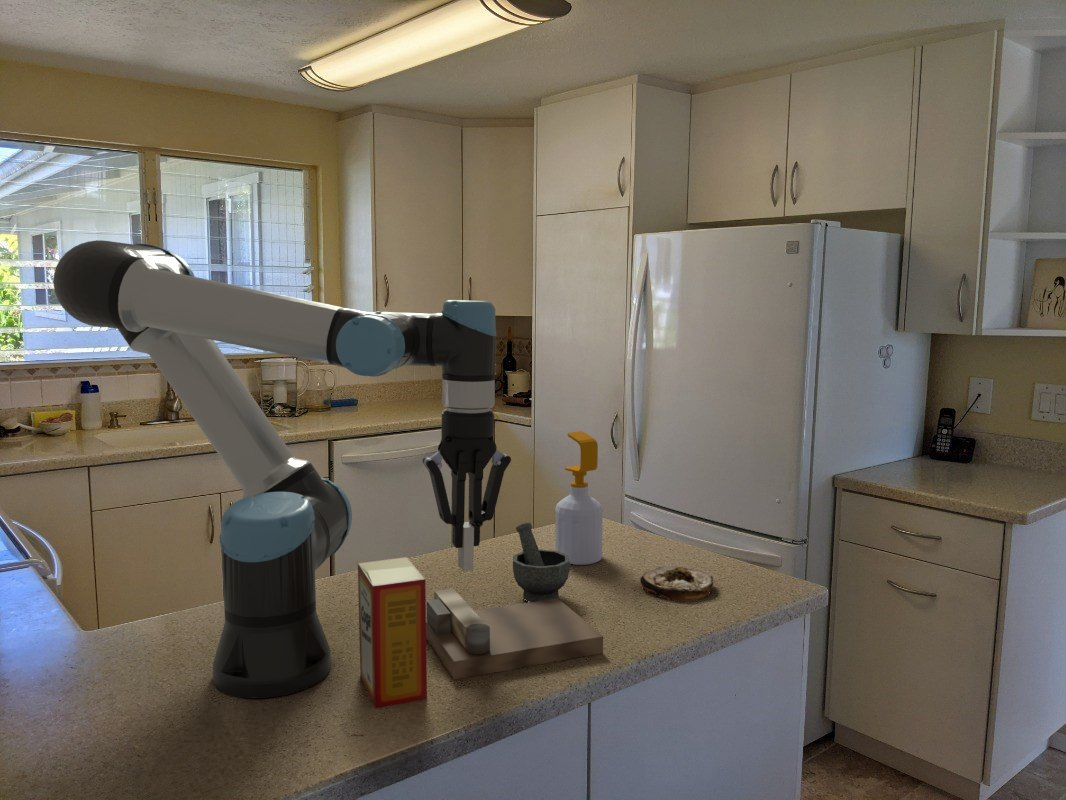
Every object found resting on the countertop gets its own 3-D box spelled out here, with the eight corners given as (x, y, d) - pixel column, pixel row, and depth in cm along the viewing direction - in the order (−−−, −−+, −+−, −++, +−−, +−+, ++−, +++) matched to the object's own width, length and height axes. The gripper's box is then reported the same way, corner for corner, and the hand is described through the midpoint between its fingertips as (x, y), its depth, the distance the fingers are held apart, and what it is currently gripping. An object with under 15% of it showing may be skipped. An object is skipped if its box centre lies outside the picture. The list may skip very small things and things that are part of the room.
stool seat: (454, 679, 110) (453, 639, 109) (423, 633, 125) (422, 598, 124) (603, 653, 118) (603, 616, 117) (557, 613, 133) (557, 580, 132)
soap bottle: (579, 548, 167) (580, 427, 164) (611, 559, 160) (613, 433, 157) (545, 557, 161) (546, 432, 158) (577, 569, 154) (578, 438, 151)
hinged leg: (493, 652, 112) (493, 630, 112) (470, 656, 111) (470, 634, 110) (453, 606, 128) (453, 588, 128) (433, 609, 127) (433, 591, 126)
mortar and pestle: (581, 600, 138) (581, 530, 137) (535, 613, 133) (536, 540, 131) (540, 581, 147) (541, 515, 146) (496, 592, 142) (496, 524, 140)
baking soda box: (360, 676, 111) (357, 560, 109) (408, 667, 113) (406, 554, 111) (375, 708, 102) (372, 583, 100) (427, 698, 105) (425, 576, 103)
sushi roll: (615, 586, 146) (616, 563, 146) (675, 570, 155) (676, 549, 154) (677, 612, 134) (677, 587, 134) (738, 593, 143) (739, 570, 143)
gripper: (502, 404, 125) (498, 556, 128) (417, 406, 120) (415, 564, 123) (520, 411, 118) (516, 571, 121) (430, 413, 113) (429, 581, 116)
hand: (465, 567), depth 122 cm, fingers closed
